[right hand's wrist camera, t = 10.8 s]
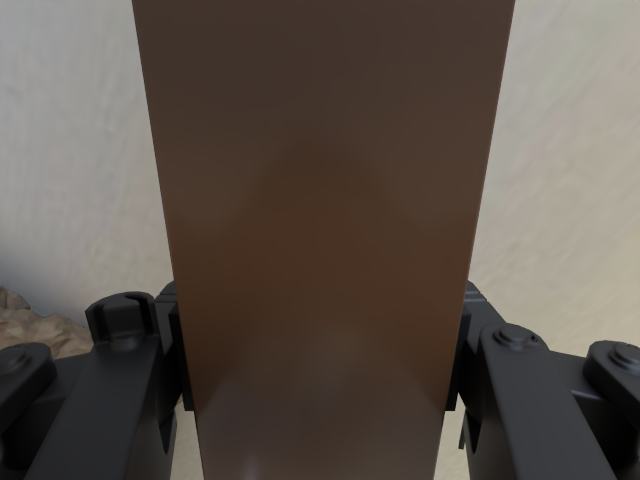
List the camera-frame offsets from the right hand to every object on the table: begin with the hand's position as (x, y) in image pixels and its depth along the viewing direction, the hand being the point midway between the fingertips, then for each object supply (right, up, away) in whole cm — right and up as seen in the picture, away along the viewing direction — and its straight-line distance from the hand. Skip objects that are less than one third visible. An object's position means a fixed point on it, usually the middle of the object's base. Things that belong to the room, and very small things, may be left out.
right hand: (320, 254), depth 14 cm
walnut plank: (0, +10, -4) cm, 11 cm away
